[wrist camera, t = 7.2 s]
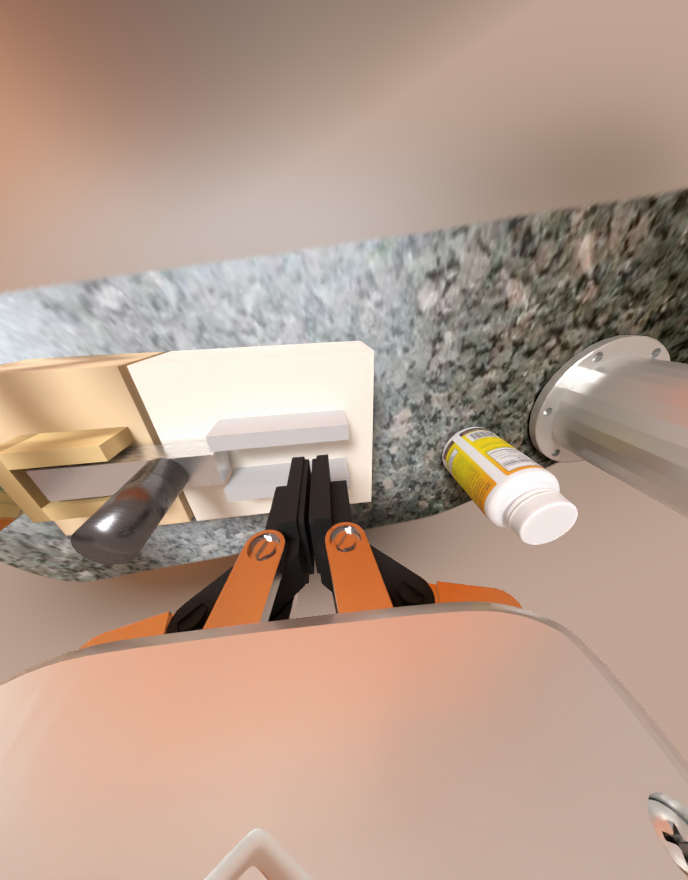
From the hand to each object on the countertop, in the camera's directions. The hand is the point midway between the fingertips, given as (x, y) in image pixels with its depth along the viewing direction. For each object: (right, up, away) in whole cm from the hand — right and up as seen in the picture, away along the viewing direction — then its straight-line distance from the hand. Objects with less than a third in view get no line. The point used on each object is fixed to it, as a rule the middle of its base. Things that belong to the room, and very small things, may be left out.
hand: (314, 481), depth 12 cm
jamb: (-16, +3, +9) cm, 18 cm away
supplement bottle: (+14, +1, +14) cm, 20 cm away
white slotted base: (-4, +4, +10) cm, 11 cm away
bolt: (-11, +1, +5) cm, 12 cm away
